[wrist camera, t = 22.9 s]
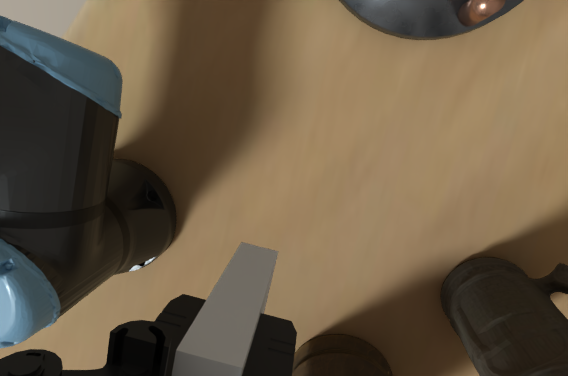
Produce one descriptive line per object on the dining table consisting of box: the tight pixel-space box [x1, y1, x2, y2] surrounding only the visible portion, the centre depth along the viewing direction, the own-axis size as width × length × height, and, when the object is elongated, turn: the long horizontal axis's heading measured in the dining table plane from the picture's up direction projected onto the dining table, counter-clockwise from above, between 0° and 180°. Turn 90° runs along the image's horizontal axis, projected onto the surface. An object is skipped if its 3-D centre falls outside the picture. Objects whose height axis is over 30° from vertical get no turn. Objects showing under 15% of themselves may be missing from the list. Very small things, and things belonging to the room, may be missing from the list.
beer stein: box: [441, 258, 568, 376], centre depth 36 cm, size 15×11×20 cm
